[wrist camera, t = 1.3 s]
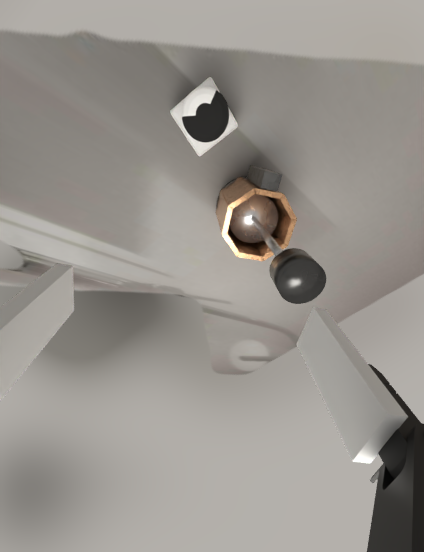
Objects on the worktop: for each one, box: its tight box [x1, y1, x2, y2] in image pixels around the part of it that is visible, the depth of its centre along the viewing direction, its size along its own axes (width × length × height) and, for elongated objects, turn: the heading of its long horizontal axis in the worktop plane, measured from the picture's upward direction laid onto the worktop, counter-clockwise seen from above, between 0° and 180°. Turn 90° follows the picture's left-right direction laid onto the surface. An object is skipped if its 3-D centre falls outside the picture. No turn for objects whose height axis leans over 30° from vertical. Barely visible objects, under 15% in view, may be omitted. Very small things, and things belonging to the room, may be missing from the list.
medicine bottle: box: [170, 77, 238, 156], centre depth 38 cm, size 7×7×12 cm
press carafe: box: [216, 165, 297, 261], centre depth 43 cm, size 10×12×14 cm
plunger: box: [229, 194, 326, 304], centre depth 31 cm, size 8×8×22 cm
